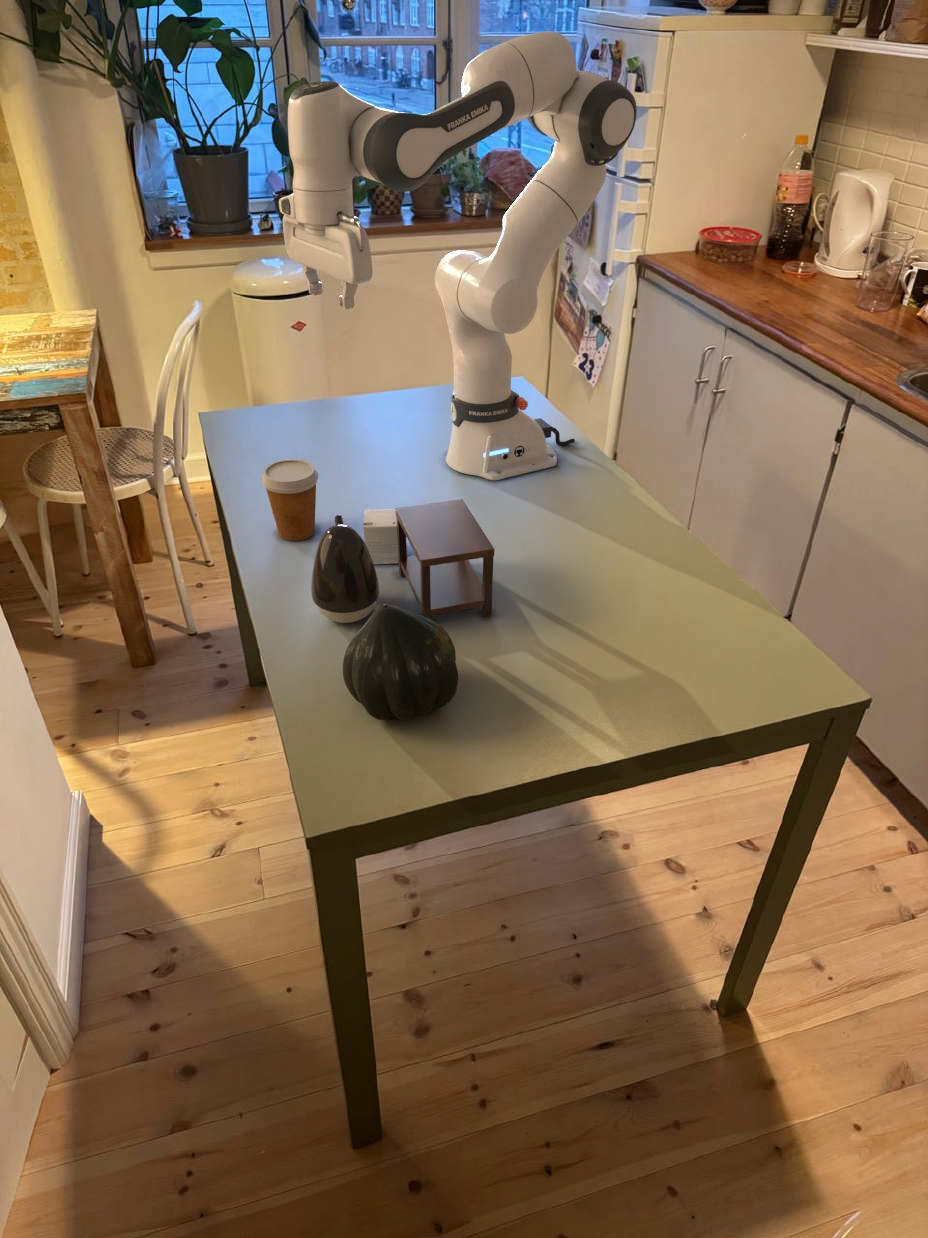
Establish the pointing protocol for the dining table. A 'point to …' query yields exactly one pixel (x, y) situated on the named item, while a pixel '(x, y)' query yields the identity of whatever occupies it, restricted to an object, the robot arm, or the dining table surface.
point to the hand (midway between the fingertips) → (331, 300)
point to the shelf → (444, 557)
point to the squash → (400, 664)
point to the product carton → (381, 535)
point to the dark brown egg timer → (344, 575)
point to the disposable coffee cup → (292, 497)
